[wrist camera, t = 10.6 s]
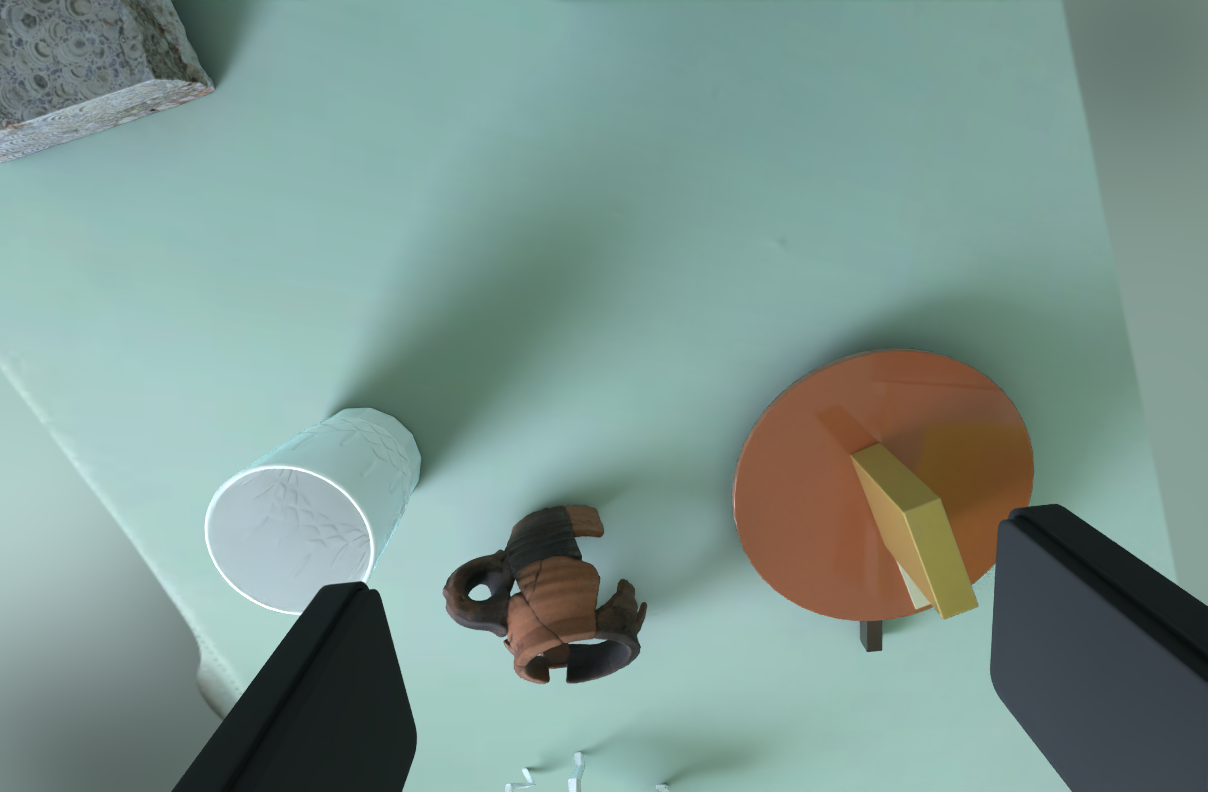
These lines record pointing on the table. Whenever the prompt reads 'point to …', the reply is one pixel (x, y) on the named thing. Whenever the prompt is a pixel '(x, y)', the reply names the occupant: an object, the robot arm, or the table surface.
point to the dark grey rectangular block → (871, 635)
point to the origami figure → (573, 780)
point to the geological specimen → (89, 68)
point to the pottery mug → (549, 600)
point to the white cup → (314, 509)
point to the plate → (825, 491)
